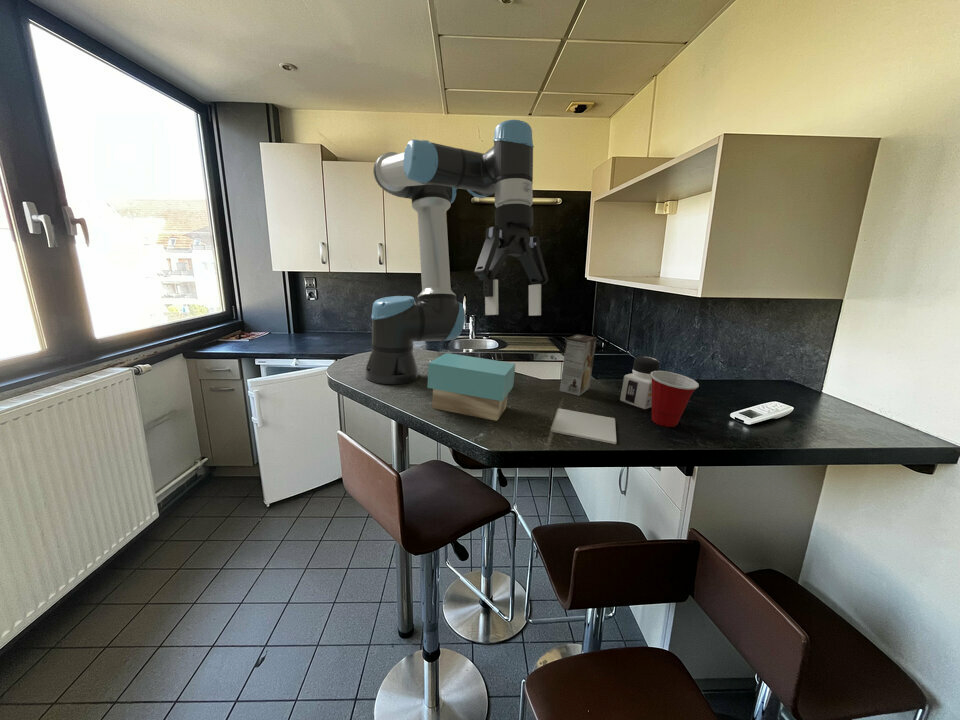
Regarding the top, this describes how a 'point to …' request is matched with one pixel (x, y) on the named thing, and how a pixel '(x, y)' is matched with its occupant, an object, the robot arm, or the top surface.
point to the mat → (584, 425)
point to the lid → (471, 376)
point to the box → (468, 404)
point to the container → (639, 383)
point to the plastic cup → (670, 396)
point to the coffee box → (578, 364)
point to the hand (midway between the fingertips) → (514, 315)
